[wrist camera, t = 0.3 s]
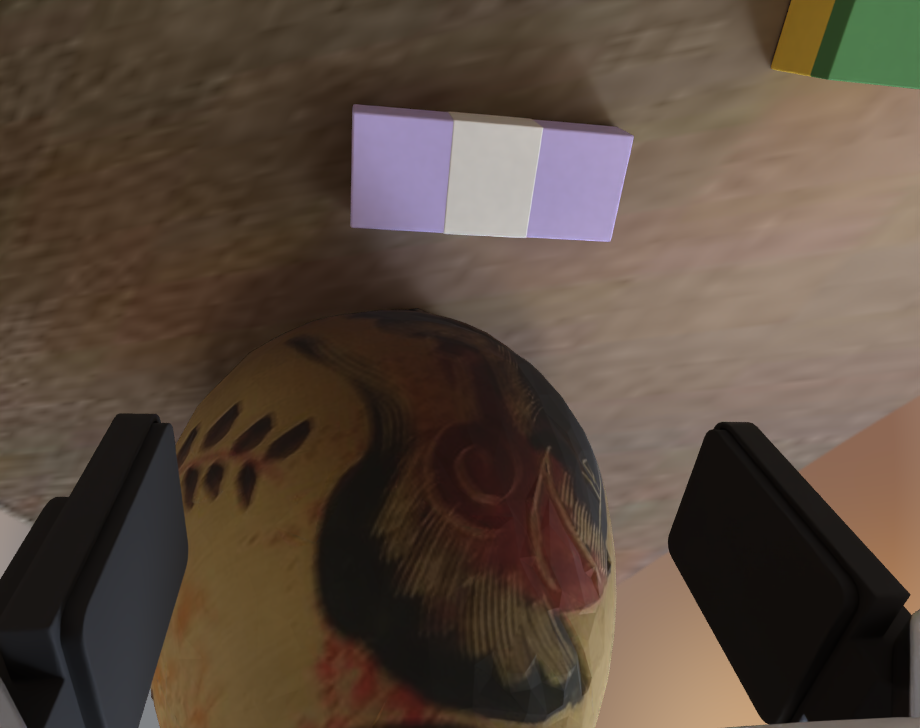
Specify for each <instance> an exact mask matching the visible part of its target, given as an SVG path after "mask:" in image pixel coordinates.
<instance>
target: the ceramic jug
mask: <svg viewBox="0 0 920 728" xmlns="http://www.w3.org/2000/svg"><path fill="white" fill-rule="evenodd" d="M175 448H176V455H177V463H178V470H179V478H180V486H181V493H182V501H183V508H184V516H185V524H186V531H187V539H188V561H187V566H186V570H185V573H184V577H183V580H182V583H181V587H180V590H179V593H178V597H177V600H176V603H175V607H174V610H173V613H172V617H171V620H170V623H169V627H168V630H167V633H166V637H165V640H164V643H163V647H162V650H161V653H160V657H159V660H158V663H157V667H156V670H155V673H154V677H153V680H152V683H151V687H150V688H151V697H152V699H153V701H154V706H155V710H156V714H157V718H158V721H159V725H160V728H595V725H596V722H597V718H598V715H599V711H600V707H601V703H602V700H603V696H604V692H605V688H606V685H607V681H608V675H609V668H610V661H611V653H612V647H613V640H614V628H615V612H616V569H615V551H614V543H613V536H612V528H611V521H610V515H609V509H608V503H607V497H606V492H605V487H604V484H603V480H602V477H601V474H600V470H599V467H598V464H597V461H596V458H595V456H594V453H593V451H592V448H591V445H590V443H589V441H588V439H587V437H586V435H585V432H584V430H583V429H582V427H581V426H580V424H579V423H578V421H577V419H576V418H575V416H574V415H573V413H572V412H571V410H570V409H569V407H568V406H567V404H566V403H565V401H564V400H563V398H562V397H561V395H560V394H559V393H558V392H557V391H556V390H555V389H554V388H553V387H552V385H551V384H550V383H549V382H548V381H547V380H546V379H545V378H544V377H543V375H542V374H541V373H540V372H539V371H538V370H537V369H536V368H535V367H534V366H533V365H532V364H531V363H529V362H528V361H526V360H525V359H523V358H522V357H520V356H519V355H517V354H516V353H514V352H513V351H512V350H511V349H509V348H508V347H507V346H506V345H504V344H503V343H501V342H500V341H498V340H497V339H495V338H494V337H492V336H491V335H489V334H488V333H486V332H484V331H482V330H479V329H477V328H475V327H473V326H470V325H468V324H466V323H463V322H460V321H457V320H454V319H451V318H446V317H442V316H438V315H433V314H429V313H427V312H425V311H422V310H420V309H418V308H417V309H409V310H380V311H370V312H361V313H352V314H343V315H337V316H332V317H327V318H322V319H318V320H315V321H312V322H309V323H307V324H304V325H302V326H300V327H297V328H295V329H293V330H290V331H288V332H286V333H284V334H282V335H280V336H278V337H277V338H275V339H273V340H271V341H269V342H268V343H266V344H264V345H262V346H261V347H259V348H257V349H255V350H254V351H252V352H250V353H249V354H248V355H247V356H246V357H245V358H244V359H243V360H242V361H241V362H240V363H239V364H238V365H237V366H236V367H235V368H234V369H233V370H232V371H231V372H230V373H229V374H228V375H227V376H226V377H225V378H224V379H223V380H222V381H221V382H220V383H219V384H218V385H217V386H216V387H215V388H214V389H213V390H212V391H211V392H210V393H209V394H208V395H207V396H206V398H205V399H204V400H203V401H202V402H201V403H200V404H199V405H198V406H197V408H196V410H195V412H194V413H193V415H192V417H191V419H190V421H189V422H188V424H187V426H186V428H185V429H184V431H183V433H182V435H181V437H180V438H179V440H178V442H177V444H176V445H175Z"/></svg>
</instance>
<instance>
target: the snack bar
mask: <svg viewBox="0 0 920 728" xmlns="http://www.w3.org/2000/svg"><path fill="white" fill-rule="evenodd" d="M633 138H634V136H633V135H631V134H630V133H628V132H626V131H624V130H622V129H620V128H618V127H614V126H603V125H591V124H580V123H568V122H557V121H545V120H533V119H531V118H519V117H508V116H496V115H485V114H473V113H461V112H450V111H449V112H441V111H429V110H418V109H406V108H394V107H383V106H371V105H360V104H354V105H353V111H352V163H351V222H350V225H351V227H352V228H367V229H385V230H403V231H422V232H440V233H444V234H460V235H478V236H496V237H515V238H526V237H532V238H550V239H569V240H587V241H606V242H609V241H611V237H612V232H613V228H614V224H615V219H616V215H617V210H618V206H619V201H620V197H621V192H622V188H623V183H624V179H625V174H626V170H627V165H628V161H629V156H630V152H631V147H632V143H633Z"/></svg>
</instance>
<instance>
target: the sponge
mask: <svg viewBox="0 0 920 728" xmlns="http://www.w3.org/2000/svg"><path fill="white" fill-rule="evenodd" d="M771 69H773V70H779V71H784V72H790V73H795V74H800V75H806V76H811V77H816V78H822V79H827V80H836V81H846V82H855V83H865V84H874V85H884V86H893V87H903V88H912V89H920V0H791V3H790V6H789V10H788V13H787V16H786V19H785V23H784V26H783V29H782V32H781V36H780V39H779V42H778V46H777V49H776V52H775V55H774V59H773V62H772V65H771Z"/></svg>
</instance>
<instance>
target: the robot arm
mask: <svg viewBox="0 0 920 728" xmlns="http://www.w3.org/2000/svg"><path fill="white" fill-rule="evenodd" d="M668 548H669V552H670V555H671V557H672V559H673V560H674V562H675V564H676V566H677V568H678V570H679V571H680V573H681V575H682V577H683V579H684V580H685V582H686V584H687V586H688V588H689V589H690V591H691V593H692V595H693V597H694V598H695V600H696V602H697V604H698V606H699V607H700V609H701V611H702V613H703V615H704V617H705V618H706V620H707V622H708V624H709V626H710V627H711V629H712V631H713V633H714V634H715V636H716V638H717V640H718V642H719V644H720V645H721V647H722V649H723V651H724V653H725V654H726V656H727V658H728V660H729V661H730V664H731V665H732V667H733V669H734V671H735V673H736V674H737V676H738V678H739V680H740V682H741V683H742V685H743V687H744V689H745V690H746V692H747V694H748V696H749V698H750V700H751V701H752V703H753V705H754V707H755V709H756V710H757V712H758V714H759V716H760V717H761V719H762V720H763V721H764V722H765V723H767V724H769V725H756V726H741V727H727V728H920V609H919V610H918V611H916V612H915V613H913V614H912V615H911V614H910V613H909V612H908V611H907V609H906V608H905V607H904V606H903V605H904V604H905V602H906V601H907V599H908V598H909V596H910V594H909V593H908V591H907V590H906V589H905V588H904V587H903V586H902V585H901V584H900V583H899V582H898V580H897V579H896V578H895V577H894V576H893V575H892V574H891V573H890V572H889V571H888V569H887V568H885V566H884V565H883V564H882V563H881V562H880V561H879V560H878V559H877V558H876V556H875V555H874V554H873V553H872V552H871V551H870V550H869V549H868V548H867V547H866V546H865V544H864V543H863V542H862V541H861V540H860V539H859V538H858V537H857V536H856V535H855V533H854V532H853V531H852V530H851V529H850V528H849V527H848V526H847V525H846V524H845V522H844V521H843V520H842V519H841V518H840V517H839V516H838V515H837V514H836V513H835V512H834V510H833V509H831V507H830V506H829V505H828V504H827V503H826V502H825V501H824V500H823V498H822V497H821V496H820V495H819V494H818V493H817V492H816V491H815V490H814V489H813V488H812V486H811V485H810V484H809V483H808V482H807V481H806V480H805V479H804V478H803V477H802V476H801V474H800V473H799V472H798V471H797V470H796V469H795V468H794V467H793V466H792V465H791V463H790V462H789V461H788V460H787V459H786V458H785V457H784V456H783V455H782V454H781V453H780V451H779V450H778V449H777V448H776V447H775V446H774V445H773V444H772V443H771V442H770V441H769V439H768V438H767V437H766V436H765V435H764V434H763V433H762V432H761V431H760V430H759V429H758V427H757V426H755V425H754V424H753V423H749V422H721V423H718V424H717V425H716V426H715V427H714V429H713V430H709V431H708V432H707V433H706V435H705V437H704V440H703V443H702V446H701V448H700V451H699V454H698V457H697V459H696V462H695V465H694V468H693V470H692V473H691V476H690V479H689V481H688V484H687V487H686V490H685V492H684V495H683V498H682V501H681V503H680V506H679V509H678V512H677V514H676V517H675V520H674V523H673V525H672V528H671V531H670V534H669V537H668ZM187 561H188V539H187V531H186V524H185V516H184V508H183V501H182V493H181V486H180V478H179V470H178V463H177V455H176V448H175V440H174V433H173V427H172V425H171V424H170V423H161V421H160V418H159V416H158V415H157V414H117V415H116V417H115V418H114V420H113V421H112V423H111V425H110V427H109V428H108V430H107V432H106V434H105V435H104V437H103V439H102V441H101V442H100V444H99V446H98V447H97V449H96V451H95V453H94V454H93V456H92V458H91V460H90V461H89V463H88V465H87V467H86V468H85V470H84V472H83V474H82V475H81V477H80V479H79V481H78V482H77V484H76V486H75V488H74V489H73V491H72V493H71V495H70V496H69V497H55V498H53V499H52V500H50V501H49V502H48V503H47V505H46V506H45V507H44V508H43V510H42V512H41V513H40V515H39V517H38V518H37V520H36V521H35V523H34V525H33V526H32V528H31V530H30V531H29V533H28V535H27V536H26V538H25V540H24V541H23V543H22V544H21V546H20V548H19V549H18V551H17V553H16V554H15V556H14V558H13V559H12V561H11V562H10V564H9V566H8V567H7V569H6V571H5V573H4V574H3V576H2V577H1V579H0V728H138V727H139V723H140V720H141V717H142V713H143V710H144V707H145V703H146V700H147V697H148V693H149V690H150V687H151V683H152V680H153V677H154V673H155V670H156V667H157V663H158V660H159V657H160V653H161V650H162V647H163V643H164V640H165V637H166V633H167V630H168V627H169V623H170V620H171V617H172V613H173V610H174V607H175V603H176V600H177V597H178V593H179V590H180V587H181V583H182V580H183V577H184V573H185V570H186V566H187Z"/></svg>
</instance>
